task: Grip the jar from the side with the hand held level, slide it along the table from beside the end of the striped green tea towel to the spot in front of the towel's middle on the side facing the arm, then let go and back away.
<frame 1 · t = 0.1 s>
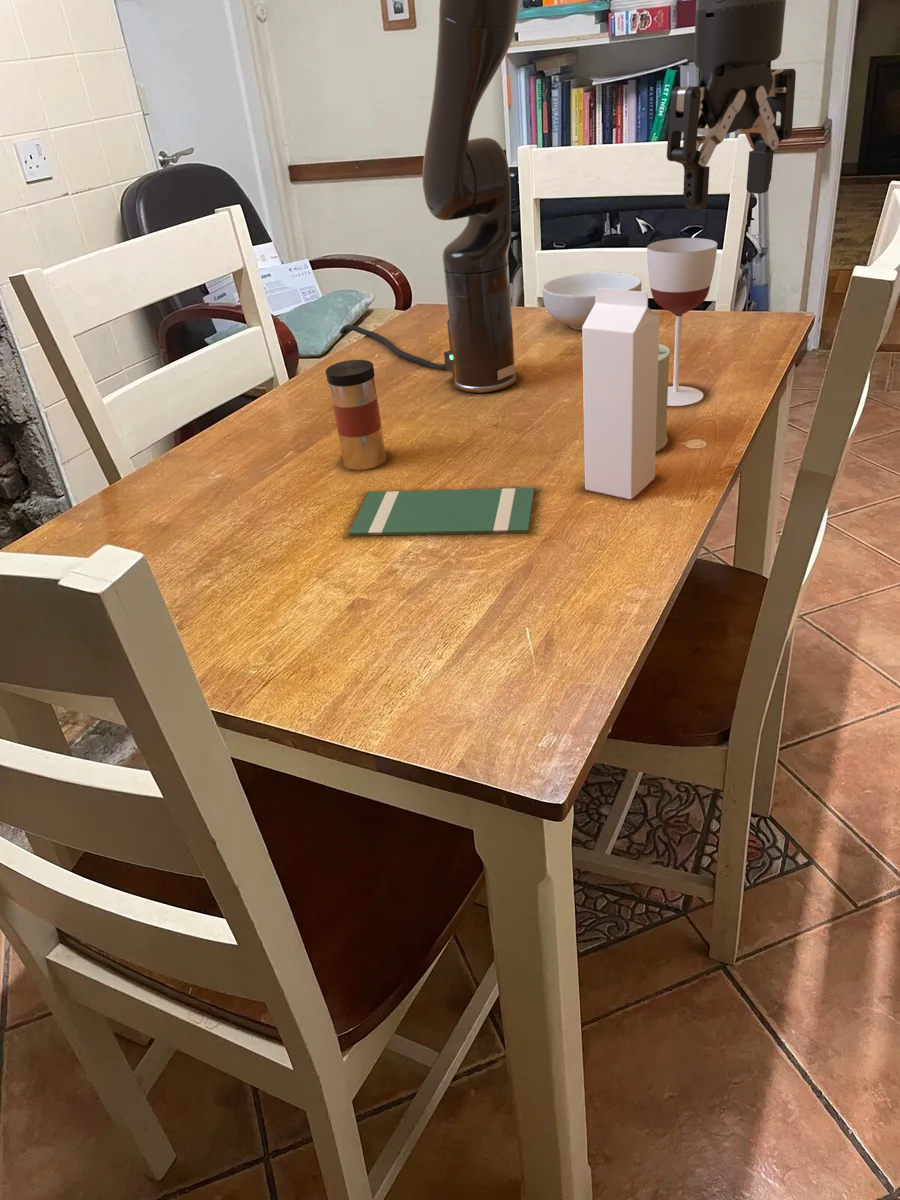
hand: (726, 200, 85), 29 cm above the table, tool pointing down, fingers open, 8 cm apart
milk: (619, 485, 101), on the table
jar: (365, 460, 114), on the table
can: (630, 443, 111), on the table
cereal bowl: (591, 324, 154), on the table
towel: (444, 512, 100), on the table
wineglass: (675, 397, 122), on the table
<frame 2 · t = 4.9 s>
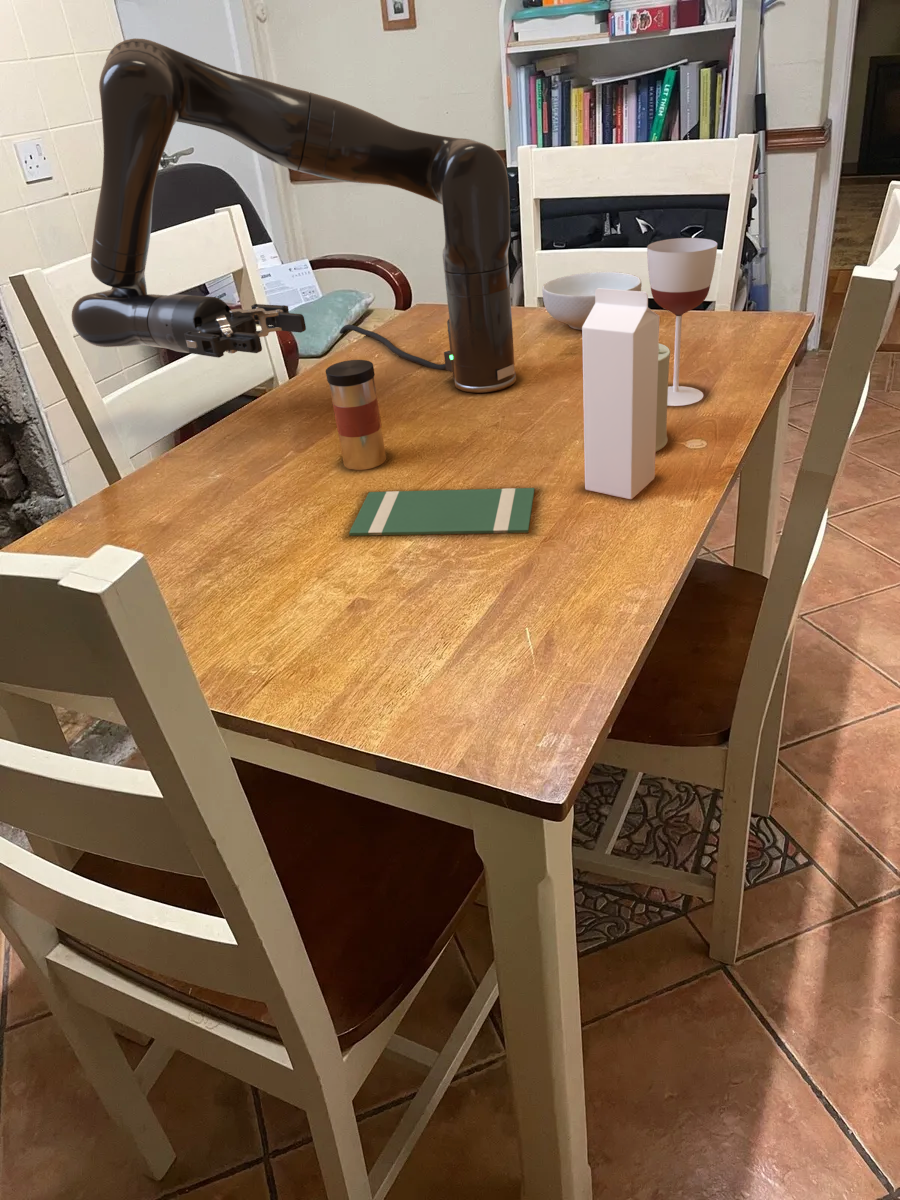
hand: (281, 333, 110), 16 cm above the table, tool horizontal, fingers open, 8 cm apart
nothing on the table moved.
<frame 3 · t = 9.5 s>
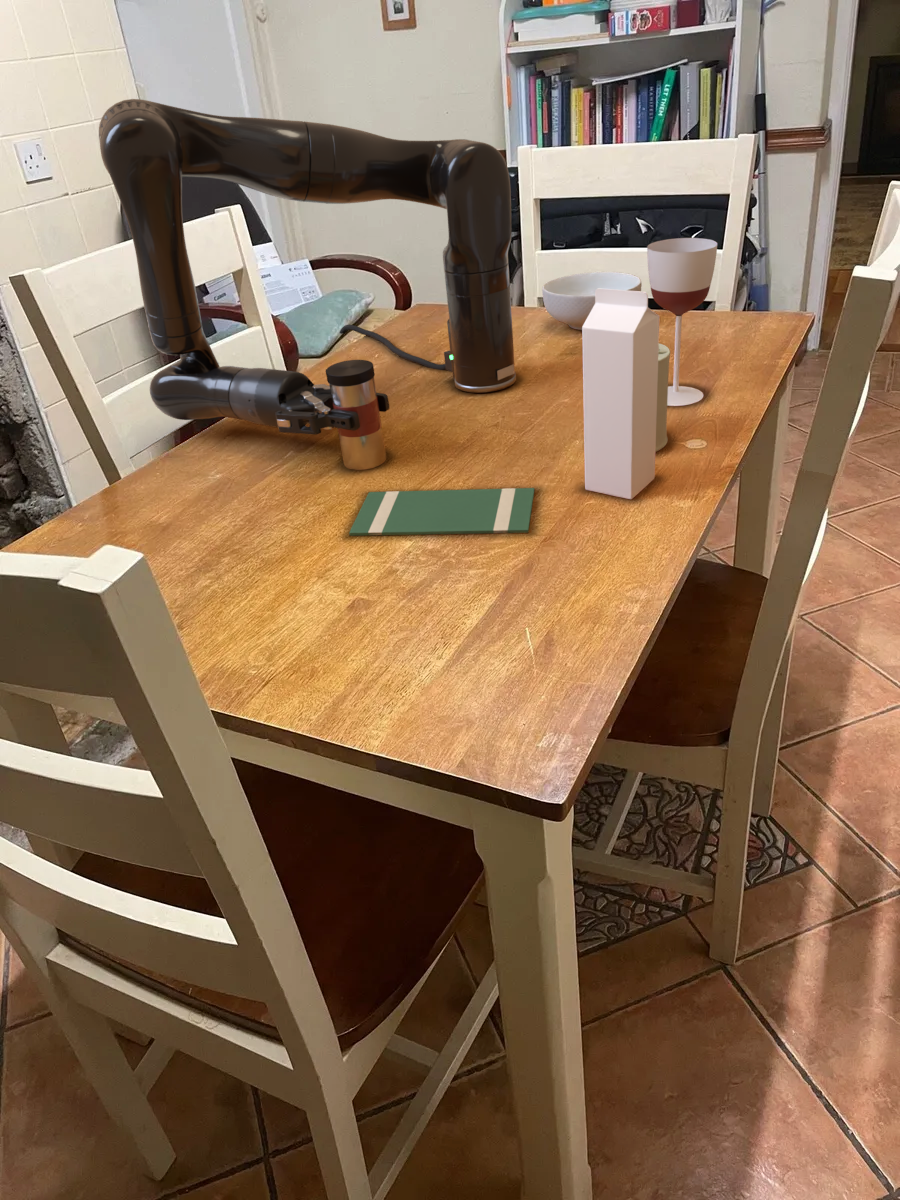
hand: (372, 412, 109), 7 cm above the table, tool horizontal, fingers closed on jar, 5 cm apart
jar: (365, 460, 114), on the table, touching gripper
everything else where it was.
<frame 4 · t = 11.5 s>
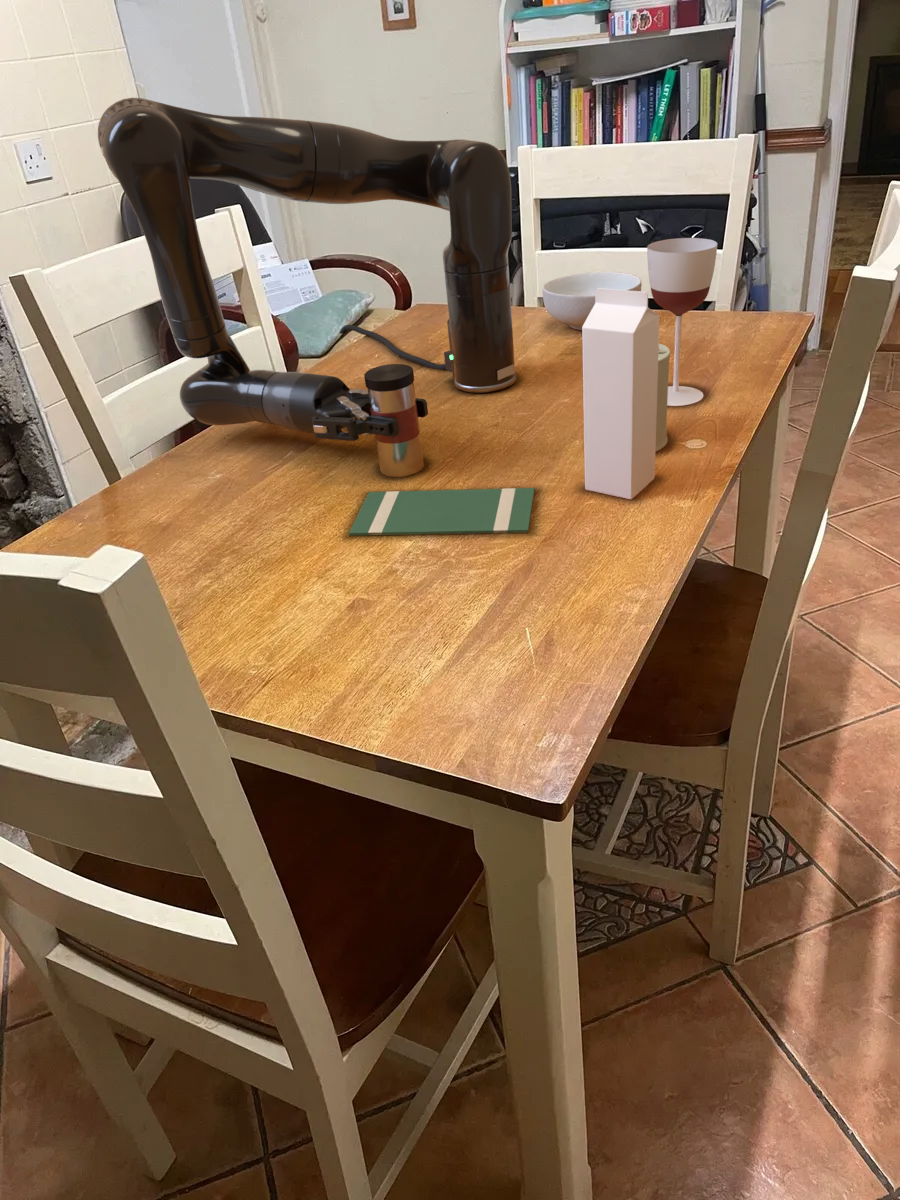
hand: (411, 417, 106), 7 cm above the table, tool horizontal, fingers closed on jar, 5 cm apart
jar: (402, 467, 111), on the table, touching gripper
everything else where it was.
when the fingers open (7 cm above the table, at t = 14.0 s): jar stays where it is, on the table.
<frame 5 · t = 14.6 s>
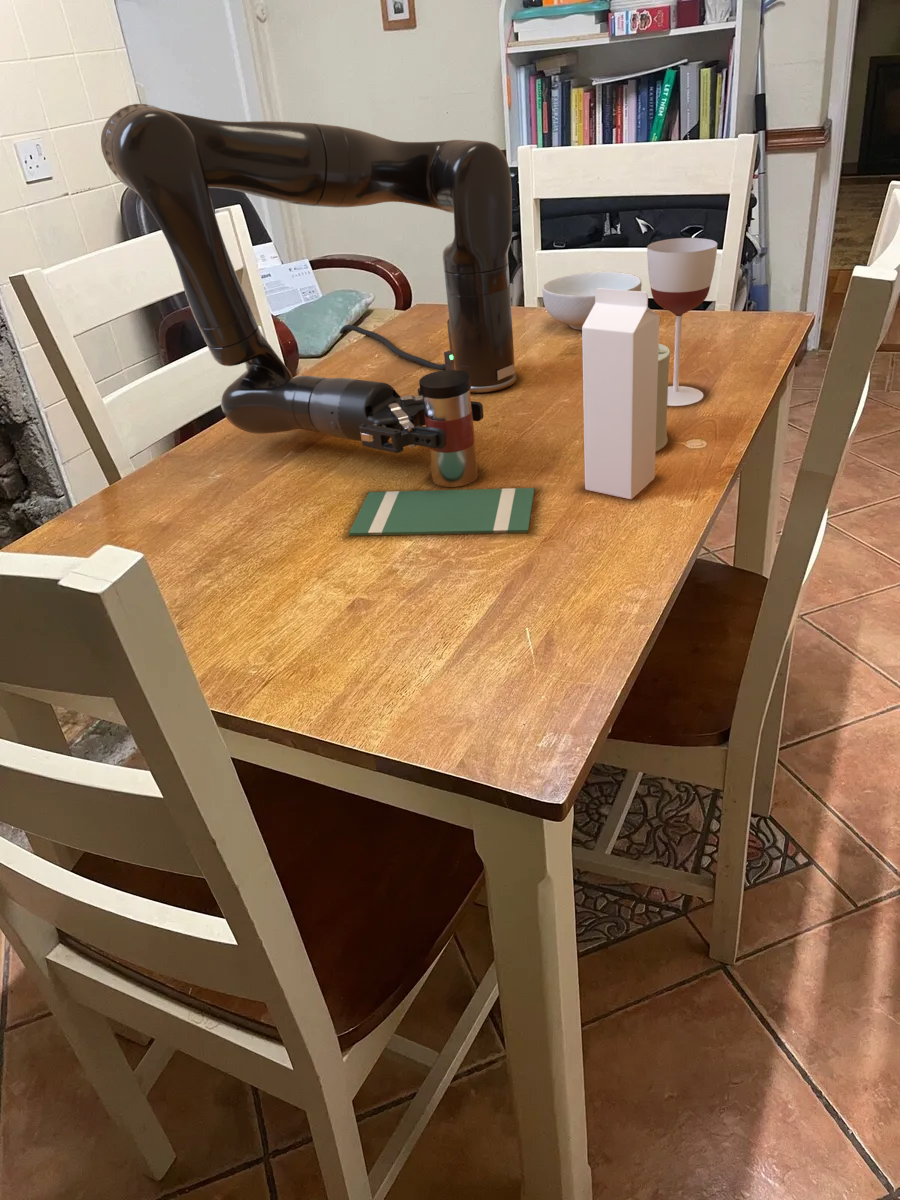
hand: (463, 425, 102), 7 cm above the table, tool horizontal, fingers open, 8 cm apart
jar: (455, 477, 107), on the table
everything else where it was.
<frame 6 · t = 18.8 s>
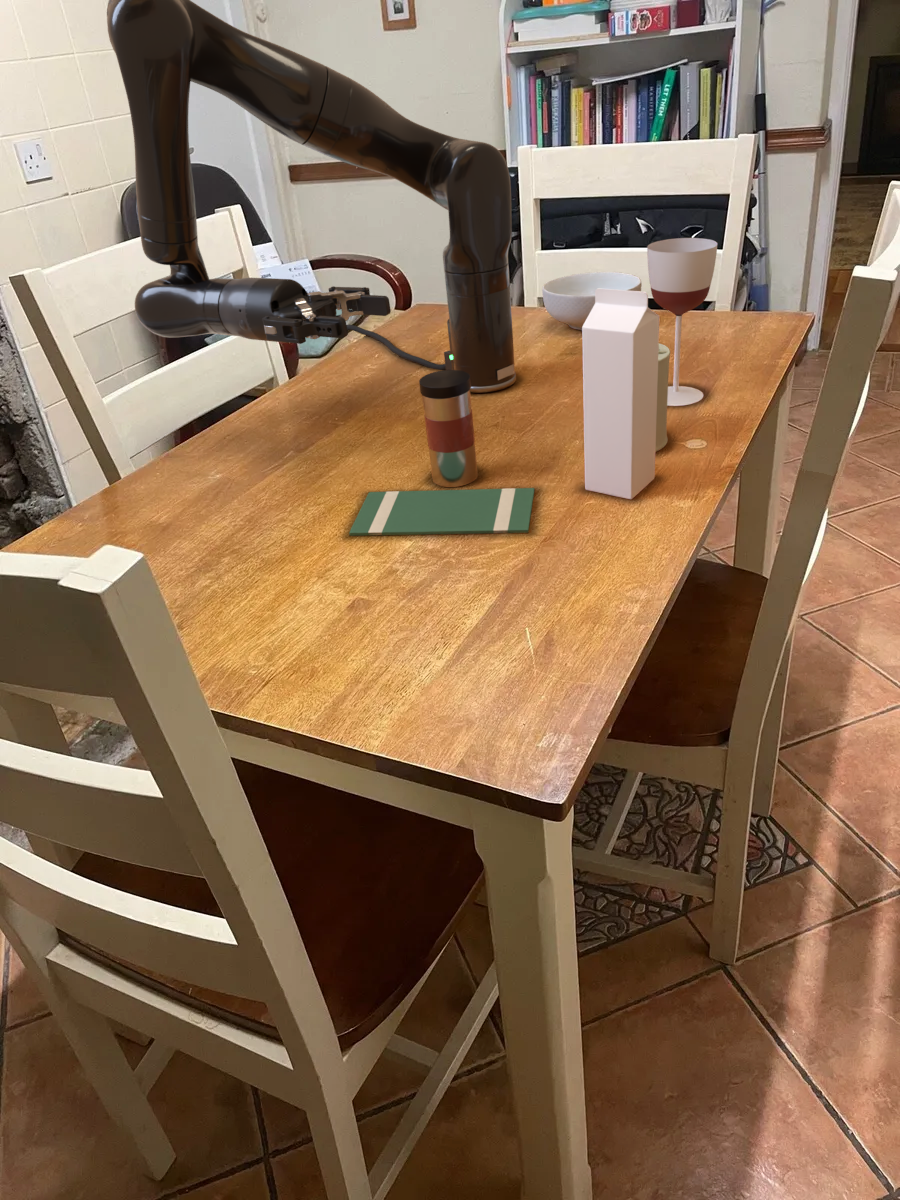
hand: (367, 316, 102), 19 cm above the table, tool horizontal, fingers open, 8 cm apart
nothing on the table moved.
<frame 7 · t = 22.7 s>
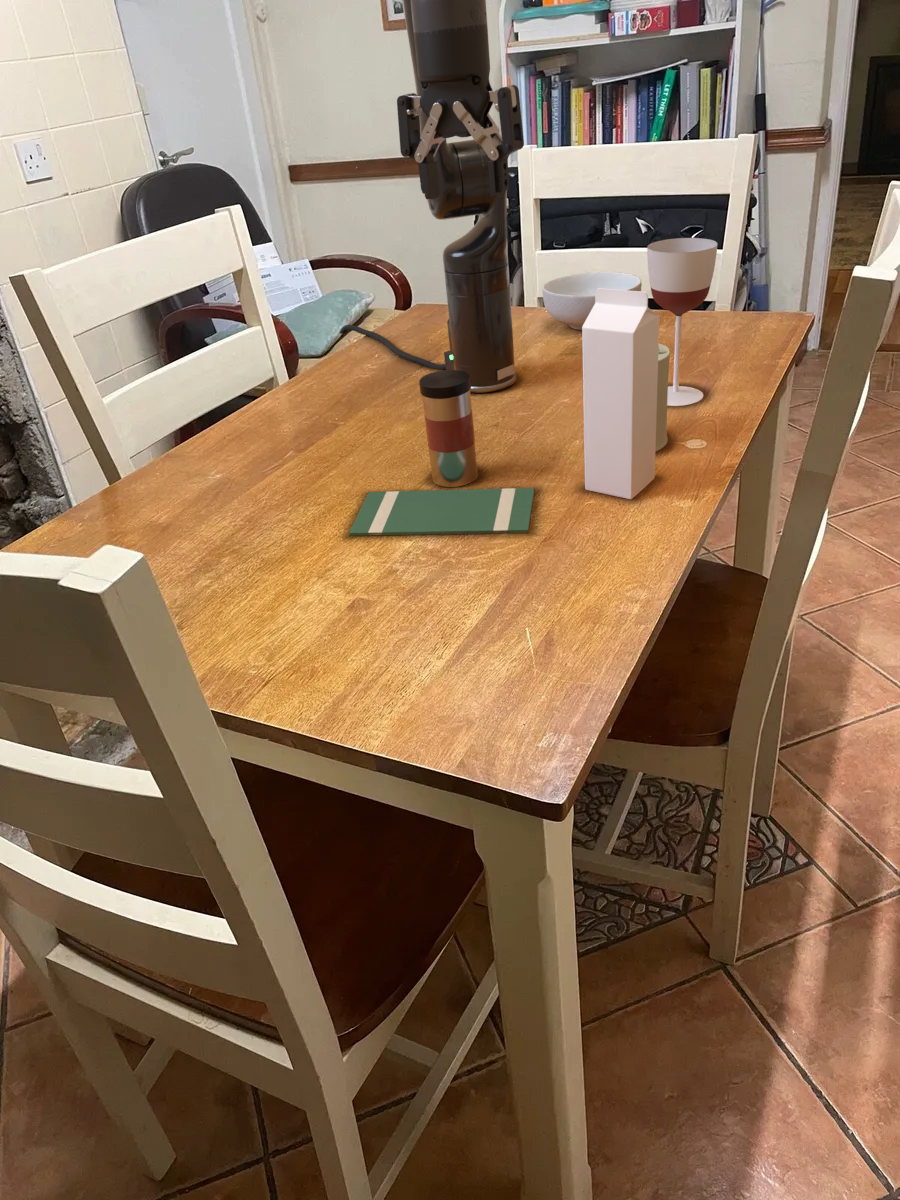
hand: (464, 197, 97), 30 cm above the table, tool pointing down, fingers open, 8 cm apart
nothing on the table moved.
at the end: jar 0.1 cm from the target spot on the table beside the towel, on the table; jar touching table; jar tilted 0° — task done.
